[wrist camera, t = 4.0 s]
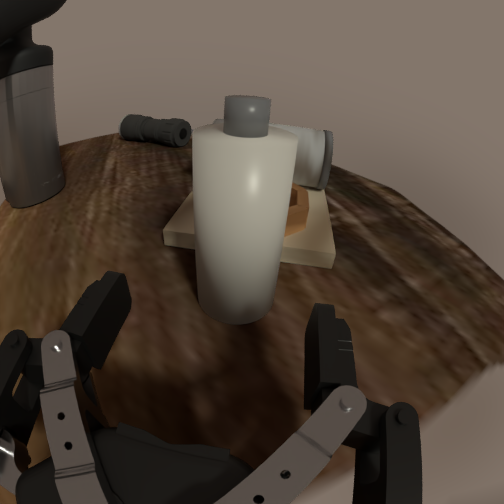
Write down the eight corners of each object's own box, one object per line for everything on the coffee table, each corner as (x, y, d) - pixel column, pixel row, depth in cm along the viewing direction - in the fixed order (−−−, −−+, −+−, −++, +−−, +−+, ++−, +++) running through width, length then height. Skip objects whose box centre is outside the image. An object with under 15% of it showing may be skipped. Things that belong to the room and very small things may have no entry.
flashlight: (194, 144, 50) (194, 116, 47) (174, 151, 46) (174, 121, 43) (138, 136, 55) (137, 112, 52) (119, 142, 51) (117, 117, 48)
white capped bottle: (188, 316, 18) (176, 101, 11) (208, 266, 22) (210, 91, 15) (269, 330, 18) (304, 110, 10) (276, 276, 22) (301, 99, 14)
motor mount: (154, 243, 24) (144, 149, 19) (206, 173, 38) (207, 112, 33) (331, 268, 23) (356, 172, 18) (319, 187, 37) (329, 126, 32)
